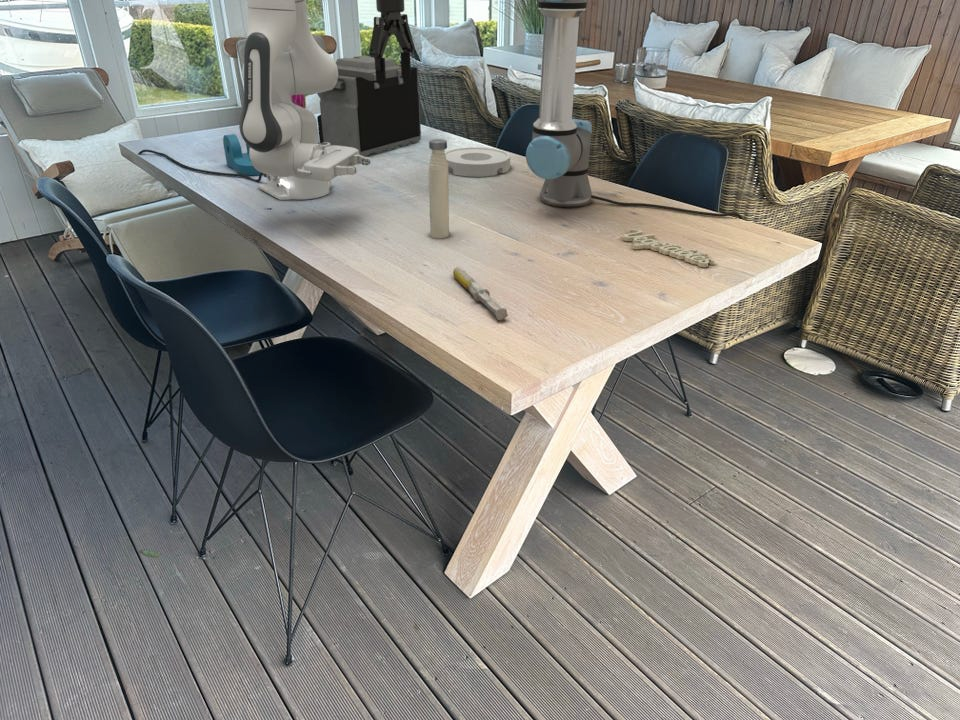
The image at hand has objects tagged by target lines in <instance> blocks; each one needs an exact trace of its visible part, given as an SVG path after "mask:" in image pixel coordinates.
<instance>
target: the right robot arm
mask: <svg viewBox="0 0 960 720" xmlns="http://www.w3.org/2000/svg"><path fill="white" fill-rule="evenodd" d="M587 2H588V0H538V5H537V6H538V8H537V9H538V11H539V12H540V13H541V14H542V16H543V30H542V31H543V32H542V33H543V34H542V51H541V71H540V72H541V74H540V91H539V92H540V93H539V94H540V95H539V110H538V111H539V113H538V118H537V119H536V120H535V121H534V122H533V123H532V124H533V125H532V137H531V139H532V140H531V141H530V142H529V143H528V146H527V148H526V151H525V160H526V161H525V162H526V164H527V166H528V169H530V171H531V172H532V173H533V174H534V175H535V176H536V177H538V178H541V179H543V180H544V181H543V184H542V187H541V189H540V191H539V200H540V202H542V203H543V204H546V205H549V206H553V207H558V208H559V207H560V208H580V207H584V206H588V205H589V204H591V203H592V199H594V200H598V201H602V202H606V203H610V204H612V205H616V206H617V205H618V206H624V207H625V206H626V207H648V208H655V209H662V210H670V211H676V212H681V213H688V214H694V215H701V216H707V217H708V216H709V217H719V218H720V217H722V218H723V217H731V216H735V217H737V218H738V219H739V220H743V219H744V218H743V216H742V215H741V214H740V213H738V212H735V211H734V212H733V211H732V212H725V213H718V212H717V213H716V212H708V211H700V210H693V209H687V208H680V207H674V206H668V205H661V204H655V203H654V204H653V203H645V202H644V203H642V202H622V201H616V200H613V199H609V198H606V197H601V196H597V195H593V193H592V188H591V184H590V179H589V165H590V153H591V142H592V136H593V135H592V134H593V132H592V130H593V129H592V127H593V126H592V123H591V122H590V121H589V120H585V119H579V118H573V109H574V95H575V93H574V92H575V81H576V68H577V67H576V66H577V53H578V40H579V24H580V17H581V16H582V14H584V12H585V11H586V10H587V4H588V3H587ZM375 6H376V11H377V12H379V13H380V16H374V17H373V27H372V33H371V39H370V45H369V51H368V56H369V57H374V59H375V70H376V83H381V84H386V72H385V57H384V54H385V51H386V48H387V45H388V42H389V39H390V37H391V36H392V35H394V36H395V39H396V42H397V43H398V45H399V48H400V49H401V52H400V65H401V74H402V77H411V67H412V66H411V53H414V51H415V43H414V39H413V35H412V32H411V29H410V25H409V18H408V14H407V13H403V12H405V0H375Z"/></svg>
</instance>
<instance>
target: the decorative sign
mask: <svg viewBox="0 0 960 720" xmlns="http://www.w3.org/2000/svg"><path fill="white" fill-rule="evenodd" d="M622 240H623V241H624V242H625V241H626V242H632V249H633V250H643V249H646V250H647V249H648V250H649V249H650V250H651V251H655V252H658V253H660V254H663V255H665V256H667V255H668V256H669V257H672V258H675V259H676V260H677V259H678V260H684V262H686V263H690V264H692V265H697V266H698V267H700V268H708V267H709V264H710V265H711V266H713V265H714V264H715V259H713V258H710V257H708V255H709V253H708V252H705V251H704V252H698V249H697V248H690V249H689V248H688V249H683V248H682V245H679V244H678V243H672V242H669V241H667V242H660V241H659V240H656V239H655V234H654V233H647V234H646V233H645V234H643V230H640V229H636V228H629V230H628V233H625V234H623V237H622Z"/></svg>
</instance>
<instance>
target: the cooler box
mask: <svg viewBox="0 0 960 720" xmlns="http://www.w3.org/2000/svg"><path fill="white" fill-rule="evenodd" d="M384 58H385V57H384ZM335 63H336V65H337V68H338V80H337V83H336V85H335V87H334V88H333V89H332V90H329V91H325V92H322V93H318V94H317V96H318V98H319V110H320V111H319V112H320V114H319V115H317V116H316V120H317V129H318V139H319V143H323V142H327V143H330V145H338V146H346V147H352V148H356V149H358V150H359V155H361V156H363V157H369V155H371V154H375V155H377V154H381V153H382V152H383V151H391V150H395V149H396V148H397V147H405V146H407V145H408V144H416V143H418V142H419V141H421V137H422V128H421V97H420V92H419V91H420V89H419V68H418V67H417V66H411V77H402V74H401V64H396V62H395V60H394V59H393V58H385V72H386V84H381V83H376V70H375V59H374V57H371V56H369V55H368V56H367V55H356V56H353V57H350V58H349V57H343V58H342V57H341V58H337V59H336V60H335Z"/></svg>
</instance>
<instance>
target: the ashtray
mask: <svg viewBox="0 0 960 720" xmlns="http://www.w3.org/2000/svg"><path fill="white" fill-rule="evenodd" d="M444 153H445V156H446V159H447V163H448V173H452V174H453V175H455V176H460V177H461V176H462V177H472V178H473V177H474V178H478V177H479V178H481V177H483V178H485V177H494V176H497V175H498V174H505V173H507V172H509V171H510V169H511V154H510V153H509V152H507V151H505V150H503V149H502V150H501V149H499V148H498V149H497V148H492V147H482V146H481V147H480V146H467V147H457V148H451V149H448V150H446V151H444Z"/></svg>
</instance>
